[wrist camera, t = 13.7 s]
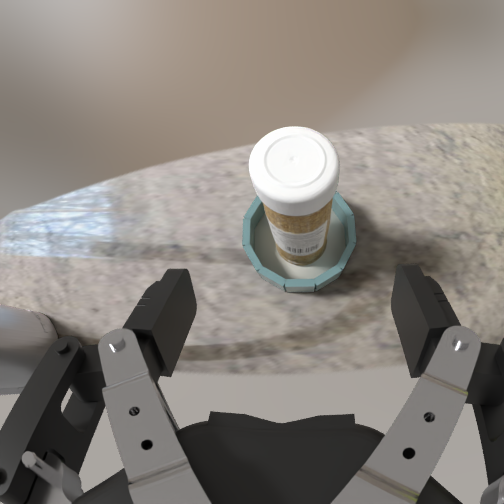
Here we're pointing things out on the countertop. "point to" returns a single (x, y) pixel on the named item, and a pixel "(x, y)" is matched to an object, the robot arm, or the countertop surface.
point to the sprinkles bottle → (296, 189)
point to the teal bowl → (297, 276)
